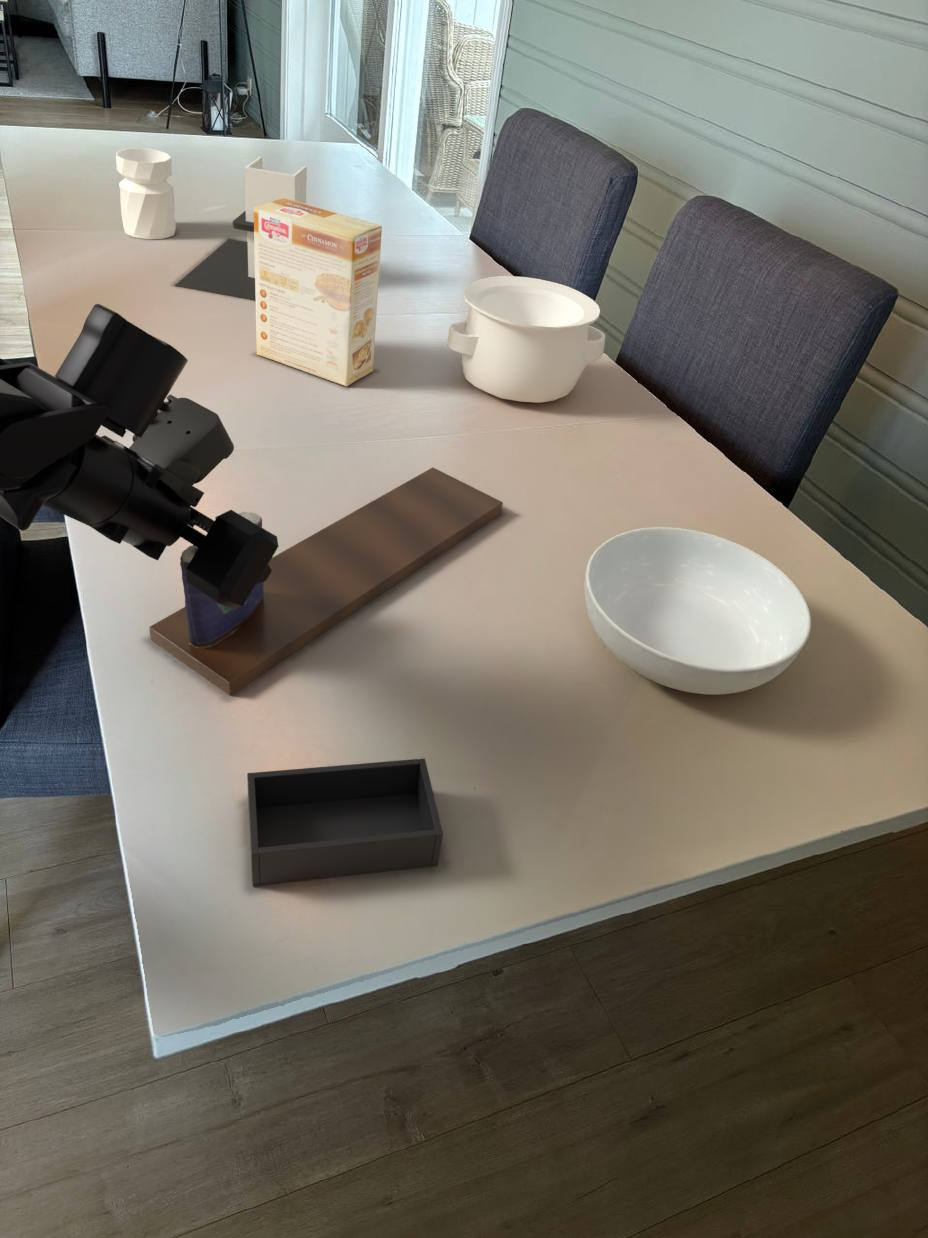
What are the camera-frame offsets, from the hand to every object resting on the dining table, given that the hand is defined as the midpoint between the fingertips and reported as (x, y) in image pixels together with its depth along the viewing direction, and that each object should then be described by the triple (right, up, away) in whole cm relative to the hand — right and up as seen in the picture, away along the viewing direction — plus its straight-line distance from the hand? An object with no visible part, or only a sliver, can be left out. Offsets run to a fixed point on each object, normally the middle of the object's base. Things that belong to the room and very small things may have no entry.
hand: (228, 550), depth 76 cm
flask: (-1, -6, +5) cm, 8 cm away
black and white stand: (-11, +51, +73) cm, 90 cm away
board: (+8, -1, +15) cm, 17 cm away
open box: (+11, -22, -10) cm, 26 cm away
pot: (+27, +27, +52) cm, 65 cm away
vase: (-34, +61, +81) cm, 107 cm away
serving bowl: (+40, -9, +12) cm, 43 cm away
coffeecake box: (-1, +29, +49) cm, 58 cm away
